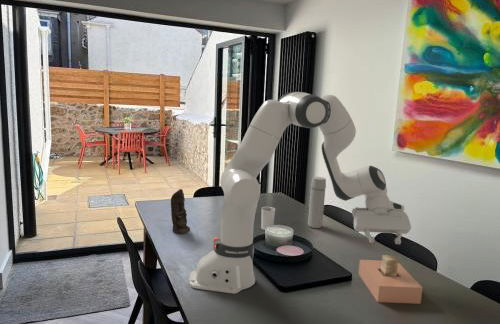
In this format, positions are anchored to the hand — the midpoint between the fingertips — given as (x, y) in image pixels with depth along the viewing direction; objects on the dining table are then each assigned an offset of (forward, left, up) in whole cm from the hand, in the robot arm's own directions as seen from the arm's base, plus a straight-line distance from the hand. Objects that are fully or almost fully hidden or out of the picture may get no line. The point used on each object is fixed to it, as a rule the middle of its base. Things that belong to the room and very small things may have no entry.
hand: (385, 242), depth 135 cm
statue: (-79, +41, -14) cm, 90 cm away
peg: (0, -6, -13) cm, 14 cm away
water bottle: (-13, +57, -14) cm, 60 cm away
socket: (0, -6, -14) cm, 15 cm away
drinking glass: (-38, +50, -14) cm, 64 cm away
